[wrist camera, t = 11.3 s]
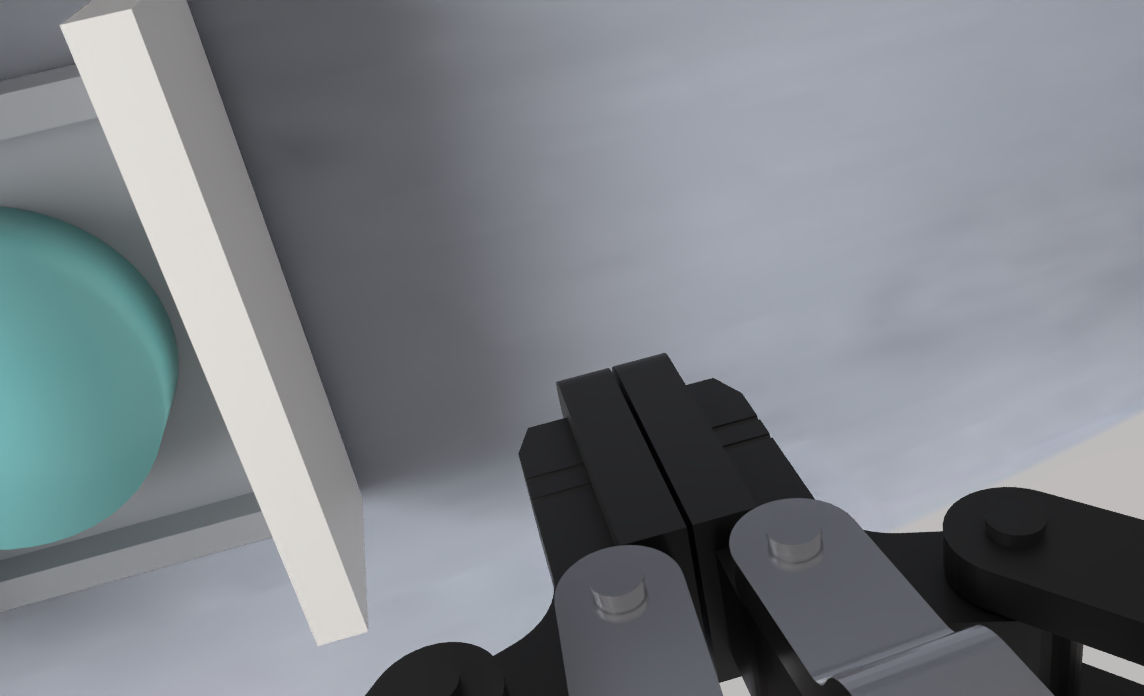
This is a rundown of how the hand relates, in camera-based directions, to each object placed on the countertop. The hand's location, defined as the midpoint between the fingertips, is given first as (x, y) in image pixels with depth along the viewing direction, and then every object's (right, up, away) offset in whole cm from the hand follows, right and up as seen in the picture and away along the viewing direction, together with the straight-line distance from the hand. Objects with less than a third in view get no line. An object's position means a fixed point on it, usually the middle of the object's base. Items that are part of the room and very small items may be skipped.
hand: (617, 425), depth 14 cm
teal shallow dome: (-11, +1, +6) cm, 13 cm away
